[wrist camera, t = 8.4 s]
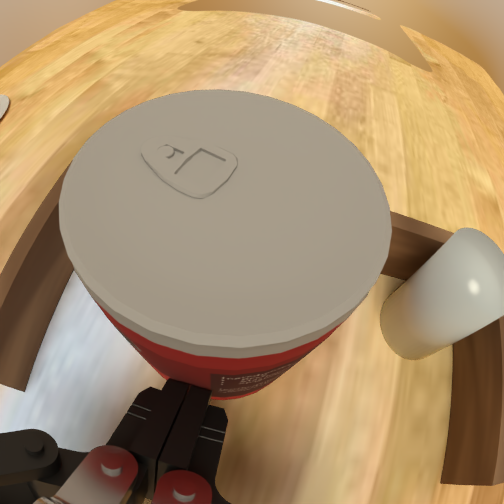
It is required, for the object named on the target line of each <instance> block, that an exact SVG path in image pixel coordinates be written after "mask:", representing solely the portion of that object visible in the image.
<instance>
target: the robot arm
mask: <svg viewBox="0 0 504 504" xmlns="http://www.w3.org/2000/svg"><path fill="white" fill-rule="evenodd" d="M211 395H212V390H209V389H205V388H202V387H198V386H195V385H191V386H190V384H188V383H184V382H181V381H178V380H175V379H172V378H169V379H168V380H167V382H166V383H165V385H164V387H163V389H162V391H161V390H158V389H156V388H153V387H149V388H147V389H145V390H144V391H142V392H140V393H139V394H138V395H137V397H136V399H135V400H134V402H133V403H132V405H131V406H130V408H129V410H128V411H127V414H125V416H124V417H123V419H122V421H121V422H120V424H119V425H118V427H117V428H116V430H115V432H114V433H113V435H112V436H111V438H110V440H109V441H108V443H107V444H106V445H104V446H99V447H96V448H94V449H93V450H91V451H90V452H76V451H72V450H67V449H62V448H58V446H57V443H56V441H55V440H54V439H53V438H52V437H51V436H50V435H49V434H47V433H46V432H44V431H41V430H37V429H26V430H20V431H14V432H7V433H0V504H142V503H143V501H144V499H145V498H147V499H150V500H152V504H231V503H229V502H228V501H226V500H225V499H224V498H223V497H222V496H221V495H220V494H219V492H218V491H217V489H216V486H215V476H216V472H217V467H218V463H219V459H220V454H221V450H222V445H223V441H224V436H225V432H226V427H227V423H228V419H227V416H226V413H225V410H224V409H223V408H219V407H215V406H212V405H209V404H210V400H211Z"/></svg>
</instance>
